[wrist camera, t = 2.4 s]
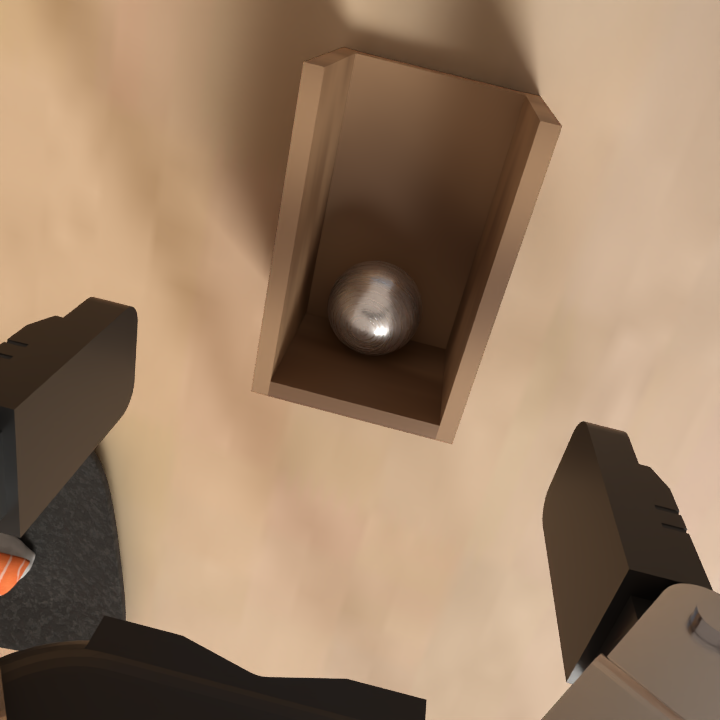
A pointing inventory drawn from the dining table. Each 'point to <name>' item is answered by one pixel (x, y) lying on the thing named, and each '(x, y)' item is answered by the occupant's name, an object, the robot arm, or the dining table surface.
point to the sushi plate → (63, 567)
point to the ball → (374, 308)
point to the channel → (398, 232)
